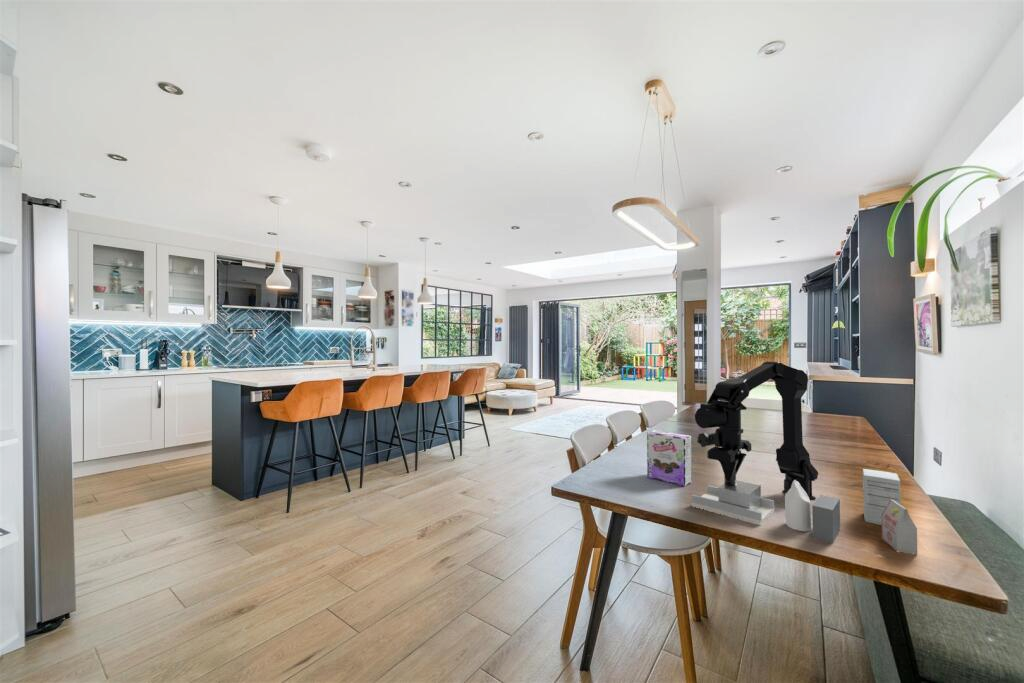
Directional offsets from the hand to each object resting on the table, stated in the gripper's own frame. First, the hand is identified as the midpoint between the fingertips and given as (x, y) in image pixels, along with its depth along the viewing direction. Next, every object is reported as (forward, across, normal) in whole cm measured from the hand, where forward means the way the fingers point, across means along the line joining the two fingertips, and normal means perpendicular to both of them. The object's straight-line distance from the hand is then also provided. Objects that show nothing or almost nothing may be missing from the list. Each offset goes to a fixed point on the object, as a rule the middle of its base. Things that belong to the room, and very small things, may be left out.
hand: (730, 479), depth 120 cm
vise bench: (+9, 0, +8) cm, 12 cm away
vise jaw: (+7, 0, +2) cm, 7 cm away
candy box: (+9, -11, -24) cm, 28 cm away
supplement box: (+9, -20, +31) cm, 38 cm away
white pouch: (+9, 0, +16) cm, 19 cm away
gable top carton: (+9, -4, +36) cm, 37 cm away
